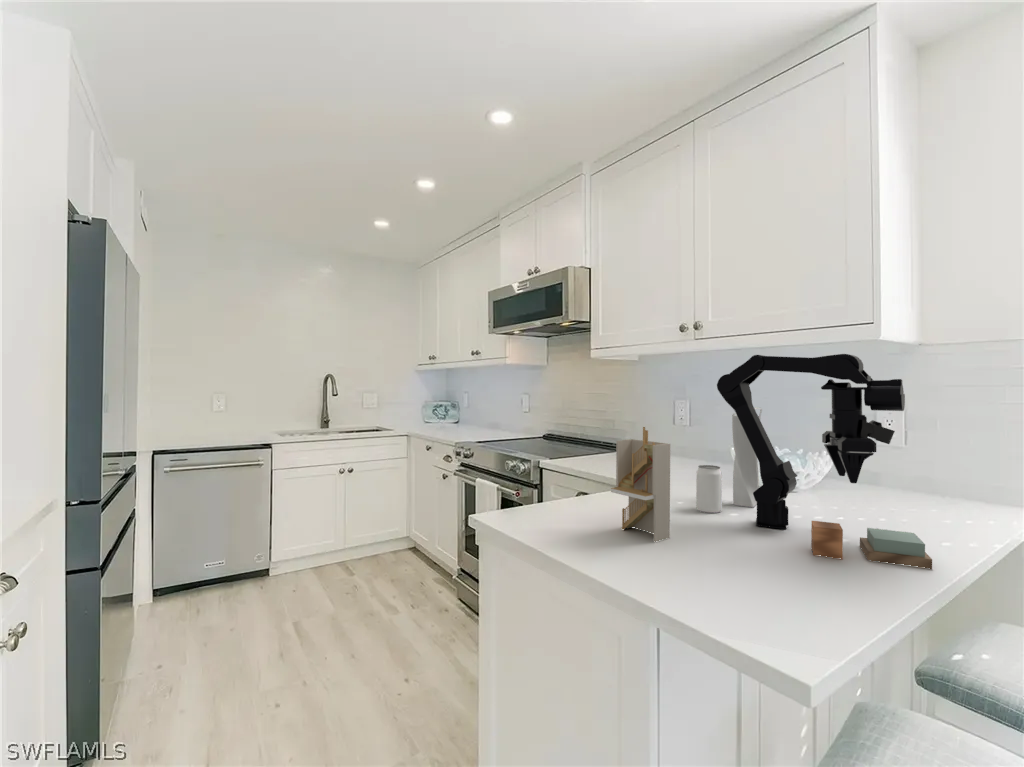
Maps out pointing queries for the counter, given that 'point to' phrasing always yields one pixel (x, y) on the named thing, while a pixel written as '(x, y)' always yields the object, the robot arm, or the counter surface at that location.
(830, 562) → the counter surface
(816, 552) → the block
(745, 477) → the skyscraper
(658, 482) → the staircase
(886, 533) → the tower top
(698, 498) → the can
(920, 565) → the tower base
